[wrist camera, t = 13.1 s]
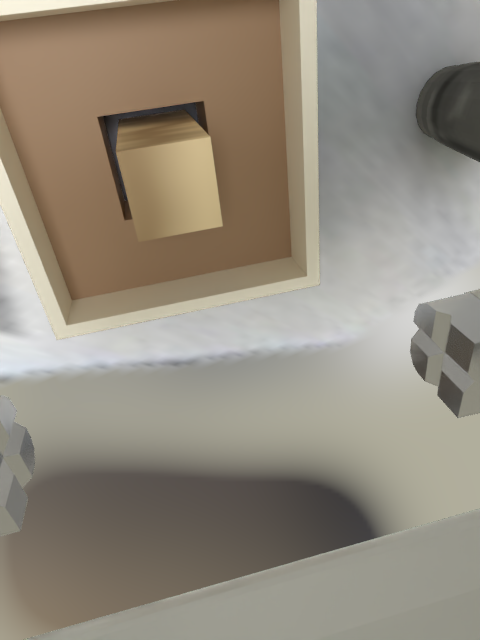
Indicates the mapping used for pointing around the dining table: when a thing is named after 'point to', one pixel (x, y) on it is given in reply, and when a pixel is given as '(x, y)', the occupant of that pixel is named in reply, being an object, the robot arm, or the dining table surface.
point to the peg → (168, 174)
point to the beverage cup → (453, 108)
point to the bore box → (147, 93)
